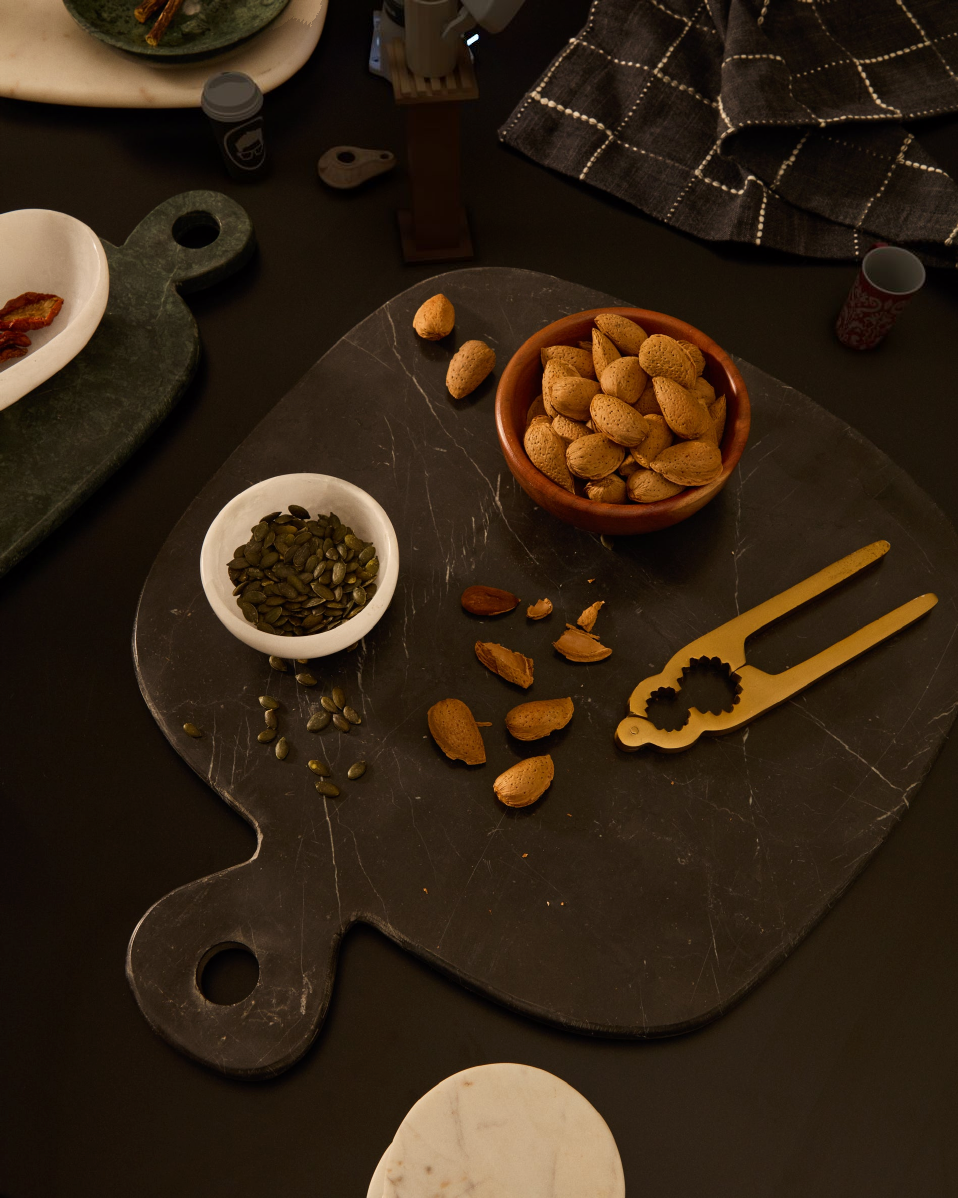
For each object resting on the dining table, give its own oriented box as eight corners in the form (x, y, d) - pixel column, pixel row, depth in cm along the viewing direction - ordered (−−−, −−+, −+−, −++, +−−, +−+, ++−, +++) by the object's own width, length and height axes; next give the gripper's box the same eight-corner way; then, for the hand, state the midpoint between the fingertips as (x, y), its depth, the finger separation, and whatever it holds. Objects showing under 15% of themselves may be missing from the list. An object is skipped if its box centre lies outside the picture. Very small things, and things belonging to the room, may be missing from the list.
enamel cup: (403, 46, 131) (400, -30, 122) (453, 42, 131) (453, -33, 122) (409, 79, 128) (406, 5, 119) (460, 76, 128) (460, 1, 119)
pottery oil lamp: (402, 189, 161) (387, 169, 154) (336, 210, 164) (318, 192, 157) (393, 138, 162) (378, 117, 155) (327, 160, 165) (309, 140, 158)
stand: (397, 215, 159) (386, 46, 132) (463, 209, 160) (466, 40, 133) (405, 266, 155) (395, 101, 128) (473, 259, 156) (478, 94, 129)
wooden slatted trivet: (386, 49, 133) (385, 37, 131) (466, 43, 134) (466, 31, 132) (395, 104, 128) (395, 92, 127) (478, 98, 129) (478, 86, 128)
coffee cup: (281, 151, 165) (266, 70, 151) (270, 192, 161) (254, 112, 147) (225, 146, 165) (205, 64, 151) (213, 186, 161) (191, 106, 147)
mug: (890, 357, 149) (929, 295, 137) (831, 353, 149) (865, 291, 137) (882, 294, 155) (918, 229, 142) (825, 290, 155) (857, 224, 143)
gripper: (445, -147, 118) (377, -44, 125) (523, -51, 111) (446, 53, 118) (477, -116, 123) (410, -19, 130) (554, -22, 116) (478, 76, 123)
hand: (428, 16), depth 124 cm, fingers open, 8 cm apart
